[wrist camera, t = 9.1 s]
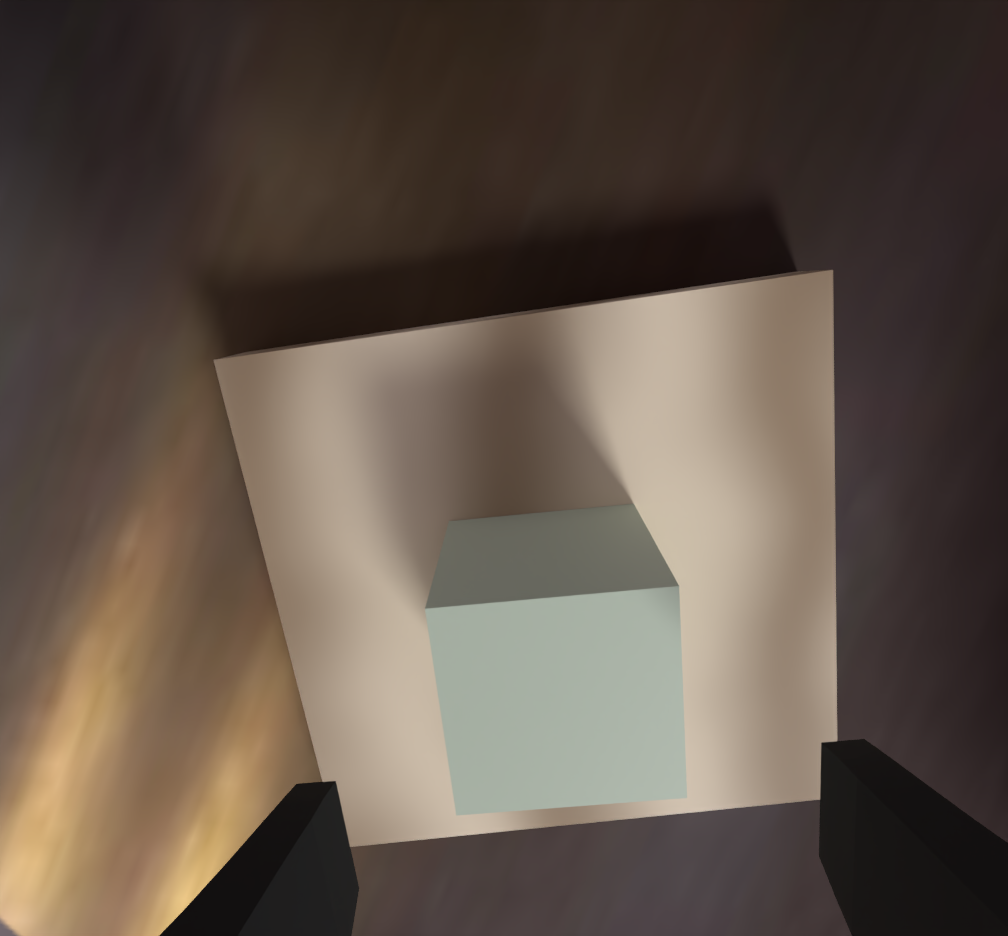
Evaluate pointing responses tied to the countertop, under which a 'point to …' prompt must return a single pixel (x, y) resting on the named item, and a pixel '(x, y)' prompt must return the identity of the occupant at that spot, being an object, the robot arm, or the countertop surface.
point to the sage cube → (558, 661)
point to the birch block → (554, 487)
